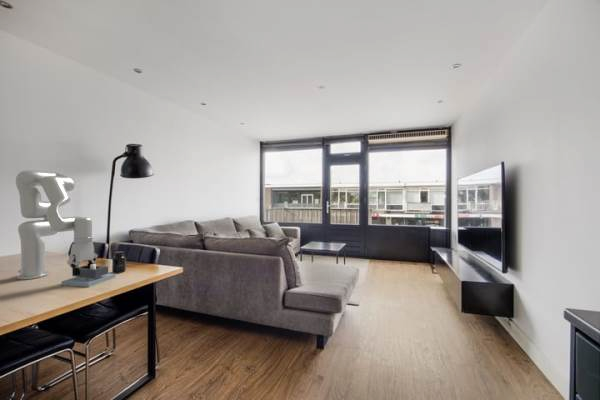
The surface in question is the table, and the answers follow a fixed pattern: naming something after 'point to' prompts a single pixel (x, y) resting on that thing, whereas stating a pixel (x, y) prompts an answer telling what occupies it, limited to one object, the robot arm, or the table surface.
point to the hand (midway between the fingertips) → (83, 272)
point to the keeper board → (88, 279)
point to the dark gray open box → (91, 271)
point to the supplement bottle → (119, 262)
